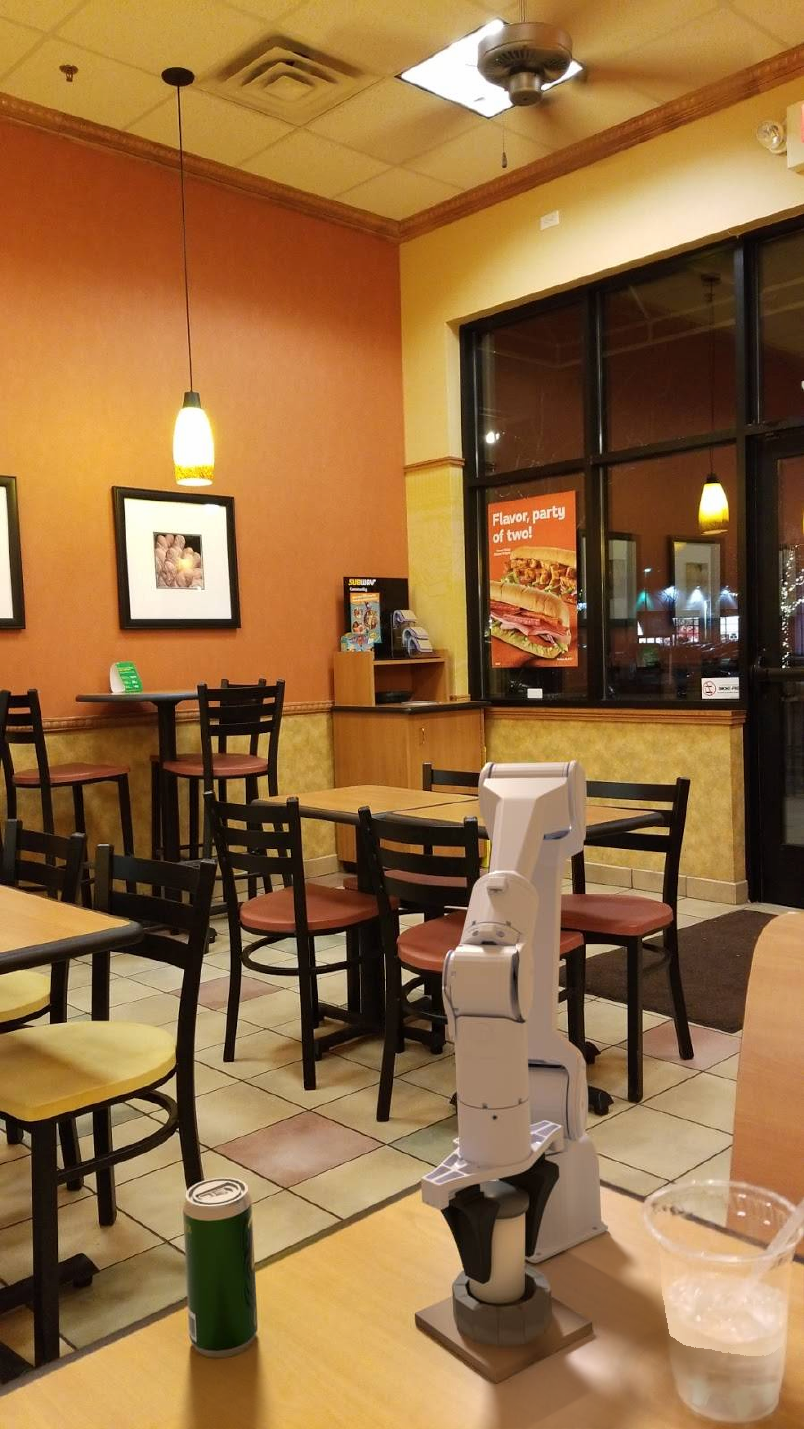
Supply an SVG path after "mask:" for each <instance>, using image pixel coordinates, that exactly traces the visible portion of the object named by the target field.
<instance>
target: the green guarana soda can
mask: <svg viewBox="0 0 804 1429" xmlns="http://www.w3.org/2000/svg"><path fill="white" fill-rule="evenodd" d="M182 1214H183V1215H182V1216H183V1236H184V1237H183V1239H184V1252H185V1253H184V1254H185V1255H184V1256H185V1257H184V1258H185V1274H186V1292H187V1294H186V1295H187V1309H188V1310H187V1311H188V1312H187V1313H188V1315H187V1316H188V1329H189V1330H188V1331H189V1335H188V1336H189V1339H190V1341H191V1343H192V1345H193V1347H194V1348H195V1351H196V1352H197V1353H199V1354H200V1355H202V1356H204V1357H206V1358H214V1359H215V1358H216V1359H222V1358H228V1357H232V1356H236V1355H238V1354H240V1353H242V1352H244V1351H246V1350H247V1349H248V1348H249V1347H250V1346H251V1345H252V1343H253V1342H254V1340H255V1338H256V1335H257V1332H258V1325H259V1324H258V1306H257V1304H258V1302H257V1288H256V1287H257V1285H256V1267H255V1265H256V1264H255V1246H254V1227H253V1226H254V1225H253V1207H252V1197H251V1195H250V1194H249V1185H248V1184H247V1183H246V1182H244V1181H243V1180H242V1179H238V1178H234V1177H213V1178H209V1179H205V1180H202V1181H199V1182H197V1183H195V1184H193V1185H192V1186H191V1187H189V1188H188V1189H187V1190H186V1192H185V1202H184V1204H183V1208H182Z"/></svg>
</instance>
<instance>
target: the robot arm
mask: <svg viewBox="0 0 804 1429" xmlns="http://www.w3.org/2000/svg"><path fill="white" fill-rule="evenodd" d="M586 778H587V777H586V772H585V769H584V766H583V765H582V764H580V762H579V761H578V760H571V761H570V762H567V761H564V762H563V761H562V762H561V761H559V762H557V761H556V762H511V763H510V762H509V763H508V762H505V763H503V762H502V763H495V761H492V762H491V761H489V762H487V763H486V764H485V765H484V766H483V768H482V769H481V771H480V773H479V779H478V788H477V791H478V792H477V793H478V794H477V796H478V805H479V806H478V807H479V813H480V816H481V819H482V820H483V823H484V826H485V829H486V830H485V831H486V833H487V836H488V839H489V840H490V843H491V852H490V853H491V854H490V862H489V872H488V873H486V874H484V875H482V876H481V877H480V878H478V879H477V880H476V882H475V883H474V884H473V887H472V890H471V895H470V899H469V903H468V904H469V905H468V908H467V912H466V917H465V921H464V925H463V928H462V934H461V938H460V942H459V944H458V945H457V946H456V948H455V950H453V949H450V950H448V952H447V953H446V955H445V957H444V961H443V966H442V967H443V968H442V978H441V980H442V982H441V984H442V987H441V989H442V991H441V993H442V1001H443V1003H442V1004H443V1008H444V1011H445V1014H446V1017H447V1026H448V1036H449V1040H450V1041H452V1042H454V1056H455V1077H456V1078H455V1081H456V1102H457V1103H456V1104H457V1126H458V1127H457V1128H458V1131H457V1132H458V1137H456V1138H455V1139H453V1140H452V1149H453V1150H454V1151H453V1152H451V1154H450V1155H449V1156H447V1158H445V1159H444V1160H443V1161H442V1162H441V1163H440V1164H439V1165H438V1166H436V1168H435V1169H434V1170H432V1171H431V1172H429V1173H427V1174H426V1175H424V1176H422V1177H420V1182H421V1183H420V1184H421V1202H422V1203H423V1204H425V1205H427V1206H429V1207H432V1208H434V1209H437V1210H438V1211H440V1212H441V1215H442V1216H443V1218H444V1219H445V1221H446V1223H447V1225H448V1227H449V1229H450V1232H451V1234H452V1236H453V1240H454V1242H455V1245H456V1248H457V1251H458V1254H459V1258H460V1260H461V1264H462V1269H463V1270H464V1272H465V1276H467V1277H469V1278H471V1279H473V1280H475V1281H477V1282H479V1283H481V1284H485V1283H487V1282H488V1281H489V1280H490V1275H491V1263H492V1236H493V1229H494V1224H495V1220H496V1216H497V1213H498V1211H499V1208H500V1206H501V1205H500V1204H499V1203H497V1202H495V1201H493V1200H490V1199H488V1198H486V1197H484V1191H482V1192H481V1191H480V1185H481V1184H483V1183H485V1182H487V1181H504V1182H510V1183H513V1184H516V1185H519V1186H521V1187H522V1188H524V1189H525V1190H526V1191H527V1192H528V1194H529V1208H528V1210H527V1211H526V1212H525V1261H526V1260H527V1262H530V1263H532V1264H538V1263H540V1262H542V1261H544V1260H547V1259H549V1258H551V1257H553V1256H555V1255H557V1254H559V1253H562V1252H563V1251H566V1250H568V1249H570V1248H572V1247H574V1246H577V1245H579V1244H581V1243H583V1242H585V1241H587V1240H590V1239H592V1238H594V1237H596V1236H598V1235H600V1234H602V1233H604V1232H606V1231H608V1230H609V1225H608V1224H607V1223H606V1222H605V1221H602V1208H601V1206H602V1203H601V1184H600V1183H601V1179H600V1176H601V1175H600V1160H599V1156H598V1152H597V1149H596V1147H595V1145H594V1143H593V1141H592V1139H591V1138H590V1135H588V1134H587V1133H586V1130H587V1127H588V1126H587V1125H588V1115H589V1114H588V1113H589V1090H588V1089H589V1088H588V1081H587V1062H586V1060H585V1058H584V1055H583V1053H582V1051H581V1050H580V1049H579V1048H578V1047H577V1046H576V1045H575V1044H573V1043H572V1042H571V1041H569V1040H568V1039H567V1038H566V1036H563V1035H562V1034H561V1033H560V1032H559V1031H558V1017H559V1016H558V1015H559V1014H558V1013H559V1010H558V1008H559V980H560V951H561V948H560V946H561V923H562V922H561V921H562V919H561V918H562V917H561V916H562V915H561V914H562V891H563V890H562V889H563V888H562V887H563V878H564V874H565V870H566V866H567V860H568V859H569V858H571V857H572V856H575V855H577V854H578V853H581V852H582V851H583V850H584V841H585V840H586V838H587V837H586V835H587V832H586V831H587V804H588V803H587V802H588V798H587V796H588V795H587V794H588V793H587V792H588V791H587V779H586ZM529 1064H537V1065H538V1064H540V1065H551V1066H553V1065H555V1066H556V1065H557V1066H563V1067H564V1068H553V1067H538V1066H537V1067H536V1066H529Z"/></svg>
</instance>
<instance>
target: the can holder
mask: <svg viewBox="0 0 804 1429" xmlns="http://www.w3.org/2000/svg"><path fill="white" fill-rule="evenodd" d="M451 1291H452V1295H451V1296H449V1297H447V1298H444V1299H442V1300H439V1301H438V1302H435V1303H434V1304H431V1305H429V1306H427V1307H425V1308H423V1309H420V1310H418V1311H416V1312H415V1313H414V1323H415V1324H417V1326H419V1327H420V1328H421V1329H422V1330H424V1331H425V1332H427V1333H428V1334H429V1335H431V1336H432V1337H434V1339H436V1340H438V1341H439V1342H440V1343H441V1344H443V1345H444V1346H445V1347H447V1348H448V1349H449V1350H451V1351H452V1352H454V1353H455V1354H456V1355H457V1356H458V1357H460V1358H462V1359H463V1360H464V1361H465V1362H466V1363H468V1364H469V1365H471V1366H472V1367H473V1368H475V1369H476V1370H477V1371H479V1373H481V1374H482V1375H484V1376H485V1377H487V1378H488V1379H489V1380H491V1381H492V1382H493V1383H495V1384H498V1383H499V1382H501V1381H504V1380H506V1379H507V1378H509V1377H511V1376H513V1375H515V1374H516V1373H517V1374H518V1373H519V1372H520V1371H522V1370H524V1369H526V1368H527V1367H529V1366H532V1365H534V1364H535V1363H537V1362H539V1361H541V1360H544V1359H545V1358H546V1357H548V1356H551V1355H553V1354H554V1353H557V1351H559V1350H561V1349H563V1348H565V1347H567V1346H569V1345H571V1344H572V1343H575V1342H576V1341H578V1340H580V1339H582V1338H584V1337H585V1336H588V1335H589V1334H591V1333H593V1332H594V1328H593V1327H594V1324H593V1322H594V1321H592V1320H590V1319H589V1318H587V1317H586V1316H585V1315H582V1314H581V1313H579V1312H577V1310H574V1309H573V1308H571V1307H569V1306H567V1305H566V1304H565V1303H563V1302H561V1301H560V1300H559V1299H556V1298H555V1297H554V1296H552V1288H551V1285H550V1283H549V1281H548V1278H547V1277H546V1275H545V1274H544V1273H543V1272H541V1271H539V1270H537V1269H536V1268H534V1267H533V1266H531V1265H529V1264H526V1263H525V1292H524V1294H523V1296H522V1297H521V1298H519V1299H518V1300H516V1301H513V1302H510V1303H502V1304H497V1303H489V1302H485V1301H482V1300H480V1299H478V1298H476V1297H475V1296H474V1295H473V1294H472V1293H471V1291H470V1288H469V1277H467V1276H465V1272H464V1269H463V1270H462V1271H460V1273H459V1274H458V1276H457V1277H456V1278H455V1279H454V1281H453V1282H452V1284H451Z"/></svg>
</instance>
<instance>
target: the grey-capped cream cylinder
mask: <svg viewBox="0 0 804 1429" xmlns="http://www.w3.org/2000/svg"><path fill="white" fill-rule="evenodd" d="M480 1191H481V1192H482V1191H484V1197H486V1198H488V1199H490V1200H493V1201H495V1202H497V1203H499V1204H500V1205H501V1206H500V1208H499V1211H498V1213H497V1216H496V1220H495V1224H494V1229H493V1236H492V1263H491V1275H490V1280H489V1281H488V1282H487V1283H485V1284H481V1283H479V1282H477V1281H475V1280H473V1279H471V1278H469V1288H470V1291H471V1293H472V1294H473V1295H474V1296H475V1297H476V1298H478V1299H480V1300H482V1301H485V1302H489V1303H497V1304H502V1303H510V1302H513V1301H516V1300H518V1299H519V1298H521V1297H522V1296H523V1294H524V1292H525V1264H526V1259H525V1212H526V1211H527V1210H528V1208H529V1194H528V1192H527V1191H526V1190H525V1189H524V1188H522V1187H521V1186H519V1185H516V1184H513V1183H510V1182H504V1181H496V1180H491V1181H487V1182H485V1183H483V1184H481V1185H480Z"/></svg>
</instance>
